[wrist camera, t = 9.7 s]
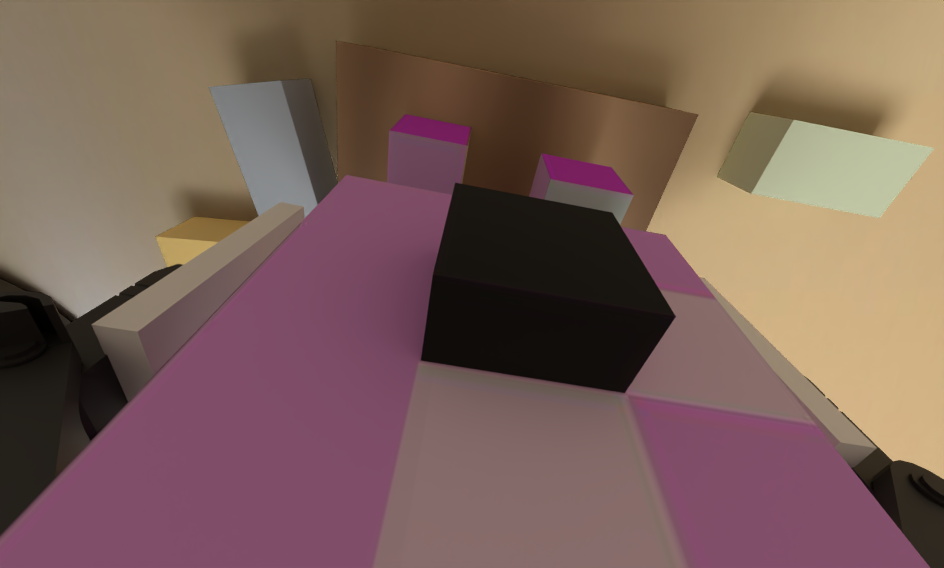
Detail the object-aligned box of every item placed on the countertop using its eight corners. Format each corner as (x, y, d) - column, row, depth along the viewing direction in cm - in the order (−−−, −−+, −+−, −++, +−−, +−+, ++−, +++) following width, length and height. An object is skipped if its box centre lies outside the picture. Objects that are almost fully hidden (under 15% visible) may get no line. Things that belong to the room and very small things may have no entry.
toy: (407, 75, 14) (-305, 528, 1) (613, 118, 14) (1340, 721, 2) (393, 297, 20) (232, 735, 8) (536, 321, 20) (599, 771, 8)
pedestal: (356, 278, 22) (339, 306, 20) (360, 44, 16) (335, 41, 14) (581, 316, 23) (592, 348, 20) (666, 107, 17) (698, 114, 14)
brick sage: (714, 176, 19) (751, 193, 16) (747, 111, 17) (793, 119, 14) (825, 197, 19) (879, 217, 16) (867, 135, 17) (934, 148, 15)
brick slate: (344, 203, 20) (323, 224, 17) (291, 207, 20) (263, 227, 18) (312, 78, 17) (280, 80, 14) (250, 84, 17) (208, 86, 15)
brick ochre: (212, 262, 22) (175, 288, 20) (196, 215, 21) (155, 236, 18) (310, 271, 22) (287, 297, 20) (302, 224, 21) (276, 247, 18)
